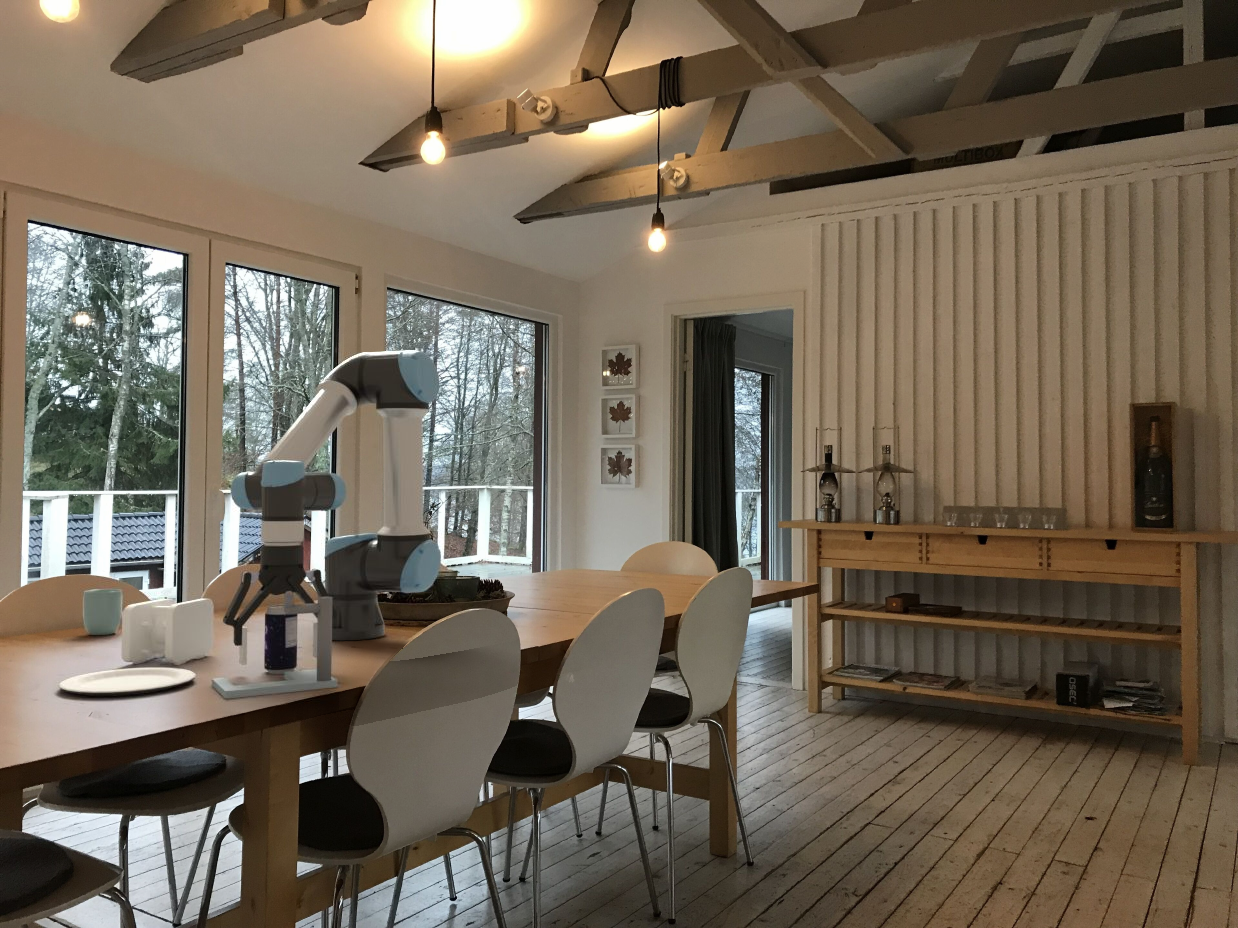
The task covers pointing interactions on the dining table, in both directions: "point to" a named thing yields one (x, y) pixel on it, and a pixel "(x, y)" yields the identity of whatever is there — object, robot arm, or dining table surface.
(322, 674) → the l-shaped desk stand
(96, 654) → the dining table surface
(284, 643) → the beverage can
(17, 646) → the dining table surface
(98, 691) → the plate
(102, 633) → the cup
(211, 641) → the cable organizer
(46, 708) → the dining table surface
